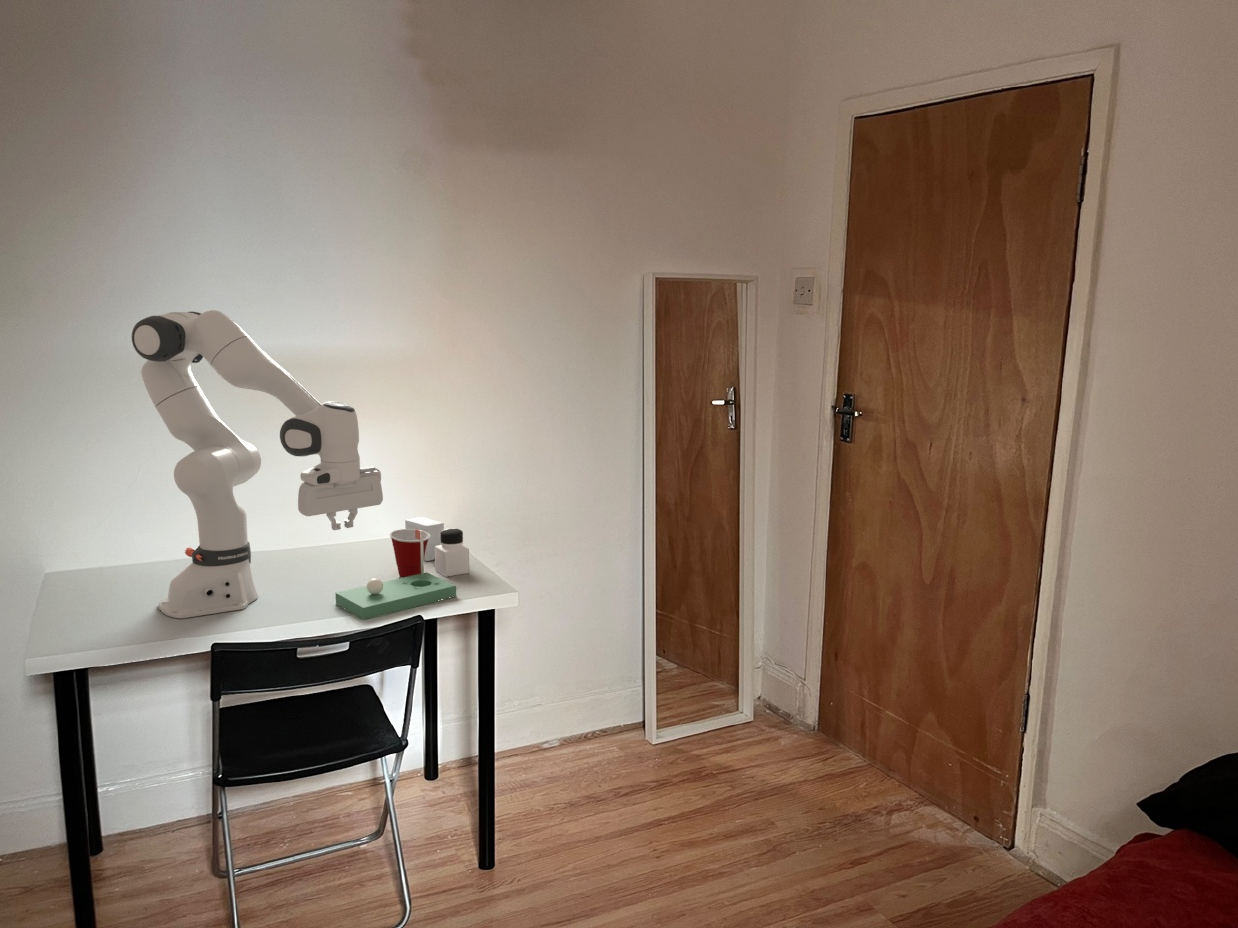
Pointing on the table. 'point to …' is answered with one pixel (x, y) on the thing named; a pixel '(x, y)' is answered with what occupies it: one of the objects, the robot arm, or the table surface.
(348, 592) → the putting deck
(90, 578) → the table surface
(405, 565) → the plastic cup
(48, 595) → the table surface
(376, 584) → the ball
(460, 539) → the medicine bottle
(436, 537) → the skincare box
